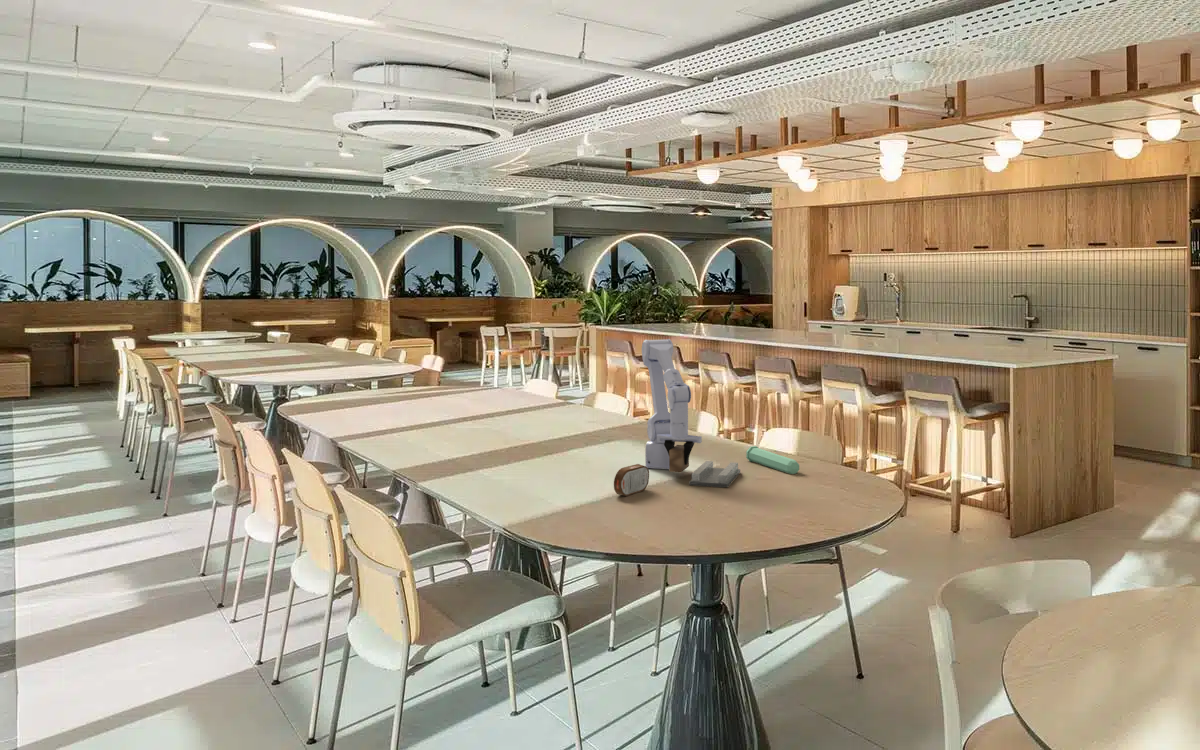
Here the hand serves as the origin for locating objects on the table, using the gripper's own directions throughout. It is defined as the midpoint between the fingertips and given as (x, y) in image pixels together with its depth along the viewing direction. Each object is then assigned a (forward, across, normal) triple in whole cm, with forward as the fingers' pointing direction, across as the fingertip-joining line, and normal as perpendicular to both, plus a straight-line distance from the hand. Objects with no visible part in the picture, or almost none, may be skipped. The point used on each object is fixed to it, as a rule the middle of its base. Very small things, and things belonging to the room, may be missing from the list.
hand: (679, 463), depth 292 cm
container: (+5, +27, +23) cm, 36 cm away
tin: (+4, -8, -26) cm, 28 cm away
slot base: (+4, +12, 0) cm, 13 cm away
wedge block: (+2, 0, 0) cm, 2 cm away
